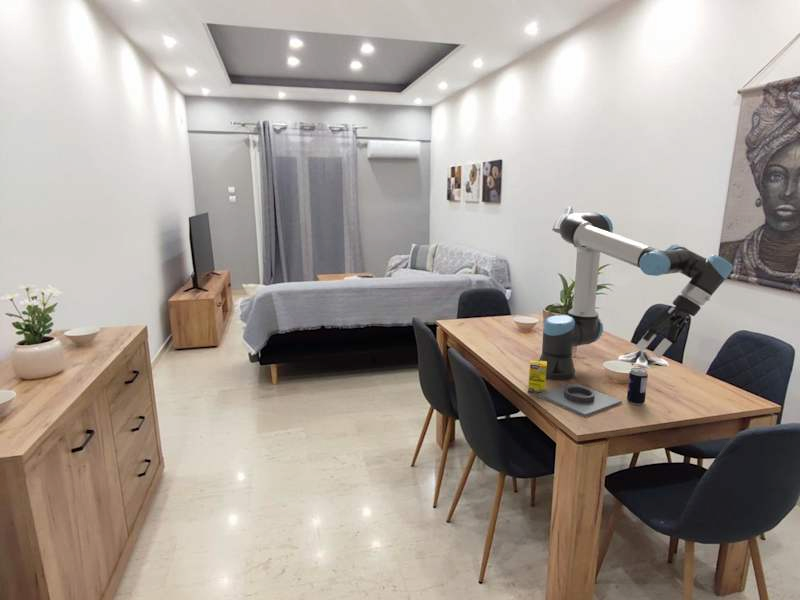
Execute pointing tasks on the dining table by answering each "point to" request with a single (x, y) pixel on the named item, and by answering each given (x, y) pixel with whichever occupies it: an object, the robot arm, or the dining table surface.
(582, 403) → the ring socket
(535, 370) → the supplement box
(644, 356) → the cloth
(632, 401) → the beverage can
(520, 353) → the dining table surface
